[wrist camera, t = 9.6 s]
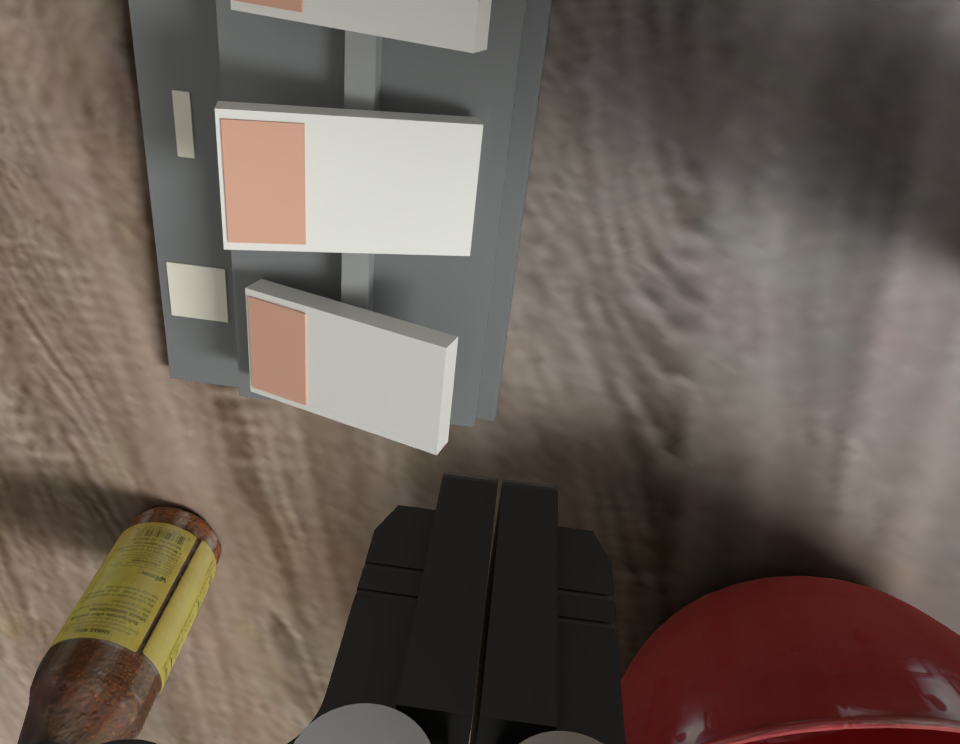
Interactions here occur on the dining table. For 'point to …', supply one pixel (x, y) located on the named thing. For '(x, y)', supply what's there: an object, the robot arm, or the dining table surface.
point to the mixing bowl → (795, 669)
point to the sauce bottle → (123, 632)
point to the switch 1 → (389, 18)
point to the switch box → (346, 85)
